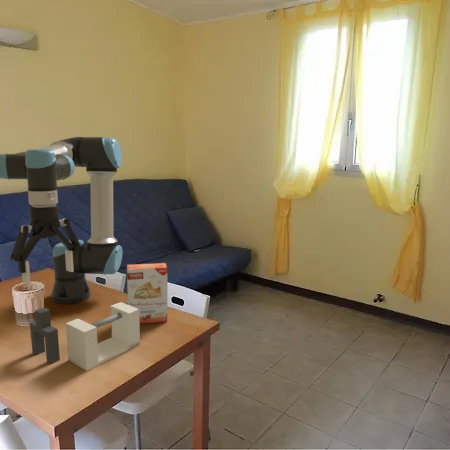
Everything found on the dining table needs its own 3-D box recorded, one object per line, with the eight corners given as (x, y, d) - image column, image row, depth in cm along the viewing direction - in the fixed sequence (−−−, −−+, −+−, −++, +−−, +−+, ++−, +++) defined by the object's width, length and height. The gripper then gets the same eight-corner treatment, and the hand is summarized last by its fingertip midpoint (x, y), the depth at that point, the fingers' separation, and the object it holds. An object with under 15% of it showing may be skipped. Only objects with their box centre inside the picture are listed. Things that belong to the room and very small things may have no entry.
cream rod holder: (68, 360, 123) (65, 323, 121) (121, 335, 139) (120, 302, 136) (86, 370, 118) (84, 332, 115) (140, 343, 134) (139, 309, 131)
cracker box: (128, 325, 146) (126, 269, 141) (128, 318, 152) (126, 263, 147) (168, 322, 149) (167, 267, 145) (166, 315, 155) (166, 261, 150)
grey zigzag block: (32, 353, 127) (28, 307, 124) (41, 349, 129) (37, 304, 126) (50, 364, 121) (46, 316, 118) (59, 359, 123) (56, 313, 120)
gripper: (5, 212, 104) (13, 292, 109) (89, 201, 124) (93, 268, 128) (-9, 209, 108) (-1, 285, 113) (74, 198, 128) (78, 264, 133)
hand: (49, 276), depth 121 cm, fingers open, 13 cm apart
